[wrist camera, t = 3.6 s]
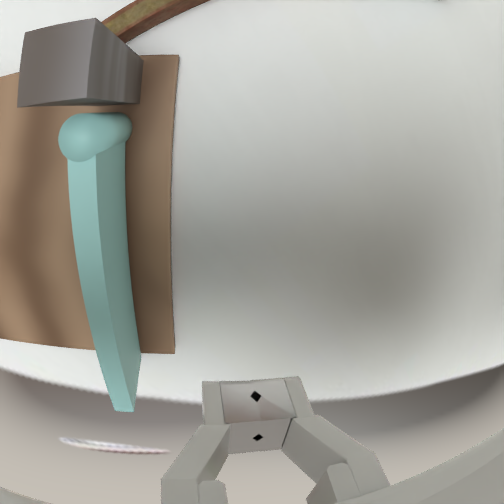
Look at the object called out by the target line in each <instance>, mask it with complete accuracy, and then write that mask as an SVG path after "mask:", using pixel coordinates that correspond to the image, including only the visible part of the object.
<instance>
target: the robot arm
mask: <svg viewBox="0 0 504 504" xmlns="http://www.w3.org/2000/svg"><path fill="white" fill-rule="evenodd" d="M202 406H203V425H200V426H199V428H198V429H197V430H196V432H195V433H194V435H193V436H192V438H191V439H190V440H189V442H188V443H187V444H186V446H185V447H184V449H183V450H182V451H181V453H180V454H179V455H178V457H177V458H176V460H175V461H174V463H173V464H172V465H171V466H170V468H169V469H168V470H167V472H166V473H165V474H164V476H163V477H162V479H161V504H228V501H227V495H226V489H225V484H224V483H222V482H220V481H219V480H215V479H216V477H217V475H218V474H219V472H220V470H221V468H222V466H223V464H224V462H225V461H226V459H227V457H228V454H235V453H246V452H254V451H267V450H278V449H282V452H283V453H285V454H286V455H287V456H288V457H289V458H290V459H291V460H292V461H293V462H294V463H295V464H296V465H297V466H298V467H299V468H300V469H301V470H302V471H303V472H305V473H306V474H307V475H308V476H309V477H310V478H311V479H312V480H313V481H315V482H316V483H317V484H316V486H315V487H314V488H313V490H312V491H311V493H310V494H309V495H308V497H307V498H306V500H307V503H308V504H504V428H503V429H502V430H500V431H498V432H497V433H495V434H494V435H492V436H491V437H489V438H487V439H486V440H484V441H482V442H481V443H479V444H477V445H476V446H474V447H472V448H470V449H469V450H467V451H465V452H463V453H461V454H460V455H458V456H456V457H454V458H452V459H450V460H448V461H446V462H444V463H442V464H440V465H438V466H436V467H434V468H432V469H429V470H427V471H425V472H423V473H421V474H418V475H416V476H414V477H411V478H409V479H406V480H404V481H402V482H399V483H397V484H394V485H391V486H390V484H389V482H388V480H387V477H386V475H385V473H384V472H383V469H382V467H381V465H380V463H379V460H378V458H377V456H376V454H375V453H374V452H373V451H371V450H370V449H368V448H366V447H365V446H363V445H362V444H360V443H358V442H357V441H356V440H354V439H353V438H351V437H350V436H348V435H347V434H346V433H344V432H343V431H341V430H340V429H338V428H337V427H335V426H334V425H332V424H331V423H330V422H328V421H327V420H325V419H324V418H322V417H321V416H320V415H314V413H313V410H312V408H311V405H310V403H309V400H308V397H307V395H306V392H305V390H304V387H303V385H302V382H301V379H300V378H299V377H298V376H297V377H286V378H273V379H261V380H251V381H202ZM0 504H51V503H47V502H43V501H40V500H37V499H33V498H30V497H27V496H24V495H21V494H18V493H15V492H13V491H10V490H7V489H5V488H2V487H0Z"/></svg>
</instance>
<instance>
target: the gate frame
mask: <svg viewBox="0 0 504 504" xmlns="http://www.w3.org/2000/svg"><path fill="white" fill-rule="evenodd" d="M178 66H179V55H140V56H138V55H137V54H136V53H135V52H134V51H133V50H132V49H130V48H129V47H128V46H127V45H126V44H125V43H124V42H123V41H122V40H121V39H119V38H118V37H117V36H116V35H115V34H114V33H113V32H112V31H110V30H109V29H108V28H107V27H106V26H105V25H104V24H102V23H101V22H100V21H99V20H98V19H97V18H92V19H85V20H79V21H74V22H68V23H63V24H58V25H54V26H49V27H45V28H41V29H37V30H33V31H29V32H25V36H24V42H23V48H22V55H21V63H20V72H18V73H14V74H10V75H6V76H2V77H0V338H1V339H7V340H13V341H20V342H27V343H34V344H41V345H49V346H58V347H67V348H77V349H88V350H96V349H95V345H94V342H93V338H92V334H91V330H90V326H89V322H88V317H87V313H86V308H85V304H84V299H83V294H82V289H81V283H80V278H79V272H78V266H77V260H76V253H75V246H74V238H73V230H72V221H71V211H70V199H69V184H68V161H67V158H66V157H65V156H64V155H63V153H62V152H61V150H60V147H59V143H58V136H59V132H60V129H61V127H62V125H63V124H64V122H65V121H66V120H67V119H68V118H69V117H71V116H73V115H75V114H80V113H104V112H120V113H123V114H125V115H127V116H128V117H129V119H130V120H131V123H132V133H131V135H130V137H129V139H128V140H127V141H126V142H125V196H126V223H127V240H128V254H129V266H130V277H131V286H132V295H133V304H134V312H135V319H136V326H137V333H138V339H139V346H140V352H141V353H159V354H175V339H174V323H173V305H172V280H171V170H172V146H173V128H174V112H175V99H176V87H177V76H178Z"/></svg>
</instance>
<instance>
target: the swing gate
mask: <svg viewBox="0 0 504 504" xmlns="http://www.w3.org/2000/svg"><path fill="white" fill-rule="evenodd" d="M131 133H132V123H131V120H130V119H129V117H128V116H127V115H125V114H123V113H120V112H104V113H80V114H75V115H73V116H71V117H69V118H68V119H67V120H66V121H65V122H64V124H63V125H62V127H61V129H60V132H59V136H58V143H59V147H60V150H61V152H62V153H63V155H64V156H65V157H66V158H67V161H68V184H69V199H70V211H71V221H72V230H73V238H74V246H75V253H76V260H77V266H78V272H79V278H80V283H81V289H82V294H83V299H84V304H85V308H86V313H87V317H88V322H89V326H90V330H91V334H92V338H93V342H94V345H95V349H96V353H97V356H98V360H99V363H100V367H101V370H102V373H103V377H104V380H105V383H106V386H107V389H108V392H109V395H110V398H111V401H112V404H113V406H114V409H115V411H126V412H134V408H135V399H136V391H137V383H138V376H139V369H140V362H141V352H140V346H139V339H138V333H137V326H136V319H135V312H134V304H133V295H132V286H131V277H130V266H129V254H128V240H127V223H126V196H125V142H126V141H127V140H128V139H129V137H130V135H131Z"/></svg>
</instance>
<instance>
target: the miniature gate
mask: <svg viewBox="0 0 504 504" xmlns="http://www.w3.org/2000/svg"><path fill="white" fill-rule="evenodd" d="M207 1H209V0H136V1H134V2H132V3H131V4H129V5H127V6H126V7H124V8H122V9H121V10H119V11H117V12H116V13H114V14H113V15H111V16H110V17H108V18H107V19H105V20H104V21H102V22H101V23H102V24H104V25H105V26H106V27H107V28H108V29H109V30H110V31H112V32H113V33H114V34H115V35H116V36H117V37H118V38H119V39H121V40H122V41H123V42H124V43H126V42H128V41H130V40H131V39H133V38H135V37H136V36H138V35H140V34H142V33H143V32H145V31H147V30H149V29H151V28H152V27H154V26H156V25H158V24H160V23H162V22H164V21H166V20H168V19H170V18H172V17H174V16H176V15H178V14H180V13H182V12H184V11H186V10H189V9H191V8H193V7H195V6H198V5H200V4H202V3H205V2H207Z"/></svg>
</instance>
